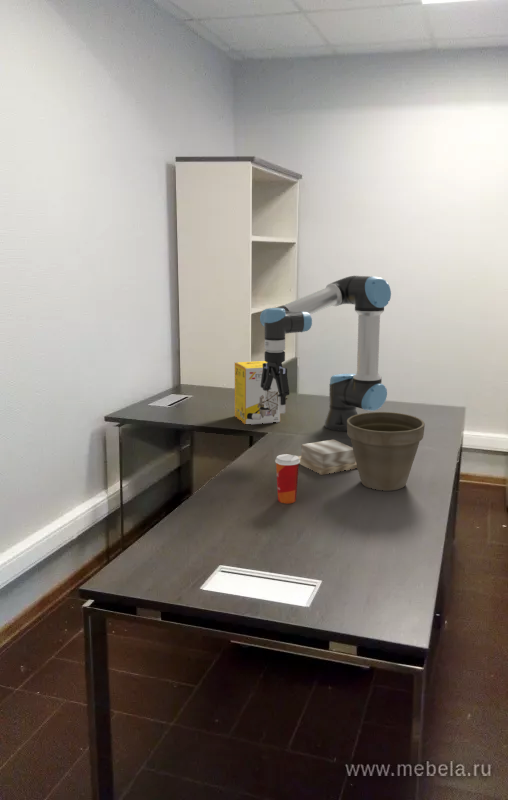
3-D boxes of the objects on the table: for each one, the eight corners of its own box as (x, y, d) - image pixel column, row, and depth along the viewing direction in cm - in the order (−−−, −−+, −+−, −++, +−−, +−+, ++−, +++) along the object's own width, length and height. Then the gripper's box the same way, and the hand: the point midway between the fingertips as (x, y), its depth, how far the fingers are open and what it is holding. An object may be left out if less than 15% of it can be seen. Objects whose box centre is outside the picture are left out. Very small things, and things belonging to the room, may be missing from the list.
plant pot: (370, 501, 218) (373, 434, 213) (331, 477, 240) (333, 415, 235) (436, 490, 228) (440, 425, 223) (392, 468, 250) (395, 408, 245)
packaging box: (268, 413, 328) (268, 360, 322) (280, 422, 313) (281, 366, 307) (234, 416, 323) (234, 362, 317) (245, 425, 308) (245, 368, 302)
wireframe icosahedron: (278, 421, 262) (284, 404, 255) (257, 412, 263) (262, 395, 256) (286, 405, 268) (292, 388, 261) (265, 396, 269) (270, 379, 262)
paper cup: (283, 494, 224) (283, 452, 221) (303, 499, 220) (304, 456, 217) (269, 501, 218) (269, 458, 215) (290, 506, 214) (291, 462, 211)
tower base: (334, 454, 266) (334, 437, 265) (363, 467, 251) (364, 449, 250) (293, 460, 258) (293, 443, 257) (321, 475, 243) (321, 456, 241)
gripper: (251, 347, 265) (251, 405, 271) (281, 356, 246) (281, 418, 251) (268, 346, 269) (268, 403, 274) (299, 354, 250) (299, 415, 255)
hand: (274, 410), depth 263 cm, fingers closed on wireframe icosahedron, 10 cm apart
